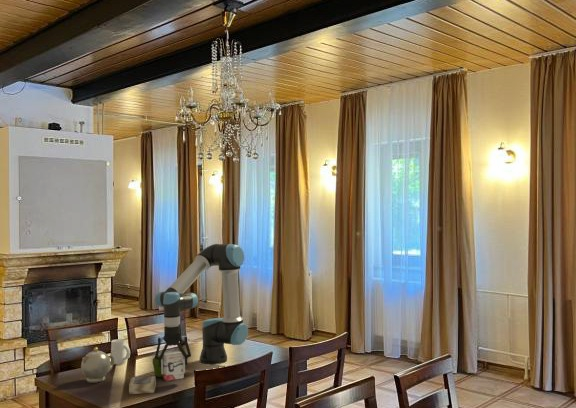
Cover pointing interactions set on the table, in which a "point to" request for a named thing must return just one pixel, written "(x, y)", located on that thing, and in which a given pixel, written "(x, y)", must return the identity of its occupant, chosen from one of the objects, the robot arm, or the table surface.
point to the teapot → (96, 365)
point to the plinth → (142, 385)
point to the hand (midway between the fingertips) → (173, 372)
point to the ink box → (173, 366)
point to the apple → (157, 367)
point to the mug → (119, 351)
